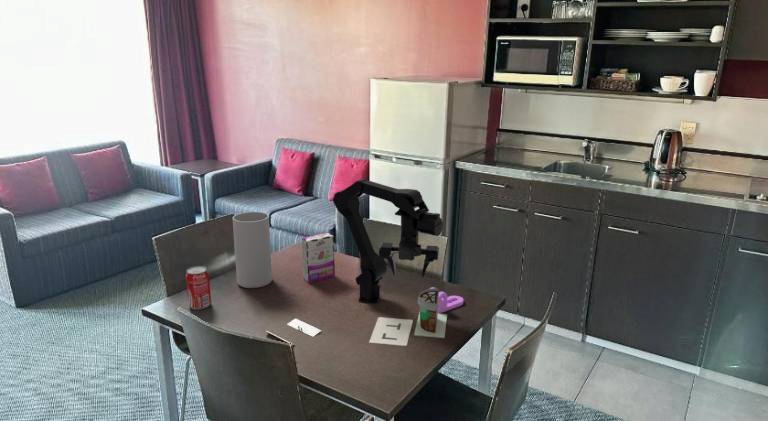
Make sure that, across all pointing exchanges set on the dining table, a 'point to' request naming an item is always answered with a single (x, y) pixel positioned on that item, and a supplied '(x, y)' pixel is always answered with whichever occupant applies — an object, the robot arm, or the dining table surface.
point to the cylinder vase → (252, 249)
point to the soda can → (198, 287)
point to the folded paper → (301, 328)
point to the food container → (428, 309)
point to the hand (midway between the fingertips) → (408, 275)
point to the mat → (439, 327)
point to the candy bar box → (318, 257)
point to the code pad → (391, 331)
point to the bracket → (448, 302)
